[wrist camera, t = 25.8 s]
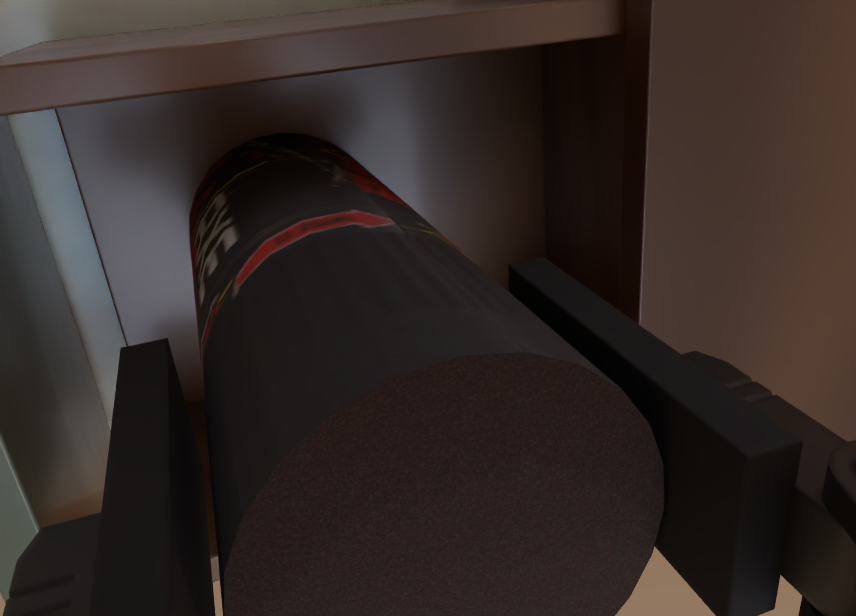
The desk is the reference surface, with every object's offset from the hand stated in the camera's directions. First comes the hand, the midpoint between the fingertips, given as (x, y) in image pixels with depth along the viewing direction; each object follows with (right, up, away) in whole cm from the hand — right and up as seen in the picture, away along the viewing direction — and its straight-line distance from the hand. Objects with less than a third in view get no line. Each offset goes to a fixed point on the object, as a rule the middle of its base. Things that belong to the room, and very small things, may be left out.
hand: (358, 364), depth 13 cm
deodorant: (-3, +4, +9) cm, 10 cm away
